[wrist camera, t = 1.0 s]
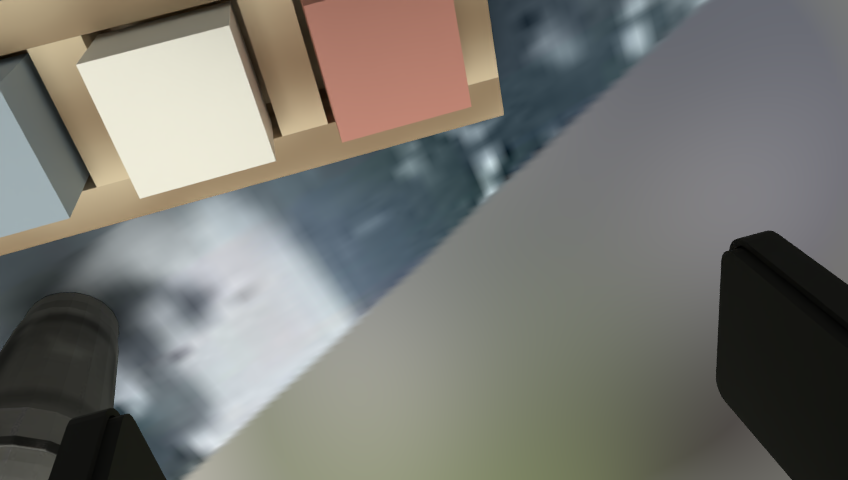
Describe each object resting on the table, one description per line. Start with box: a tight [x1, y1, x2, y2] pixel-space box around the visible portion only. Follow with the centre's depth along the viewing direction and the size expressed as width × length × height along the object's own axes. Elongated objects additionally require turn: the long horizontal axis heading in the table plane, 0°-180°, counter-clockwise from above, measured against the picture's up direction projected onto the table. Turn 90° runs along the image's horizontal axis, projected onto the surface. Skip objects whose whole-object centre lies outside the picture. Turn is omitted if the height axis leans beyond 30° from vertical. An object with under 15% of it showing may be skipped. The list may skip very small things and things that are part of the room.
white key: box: [76, 1, 276, 199], centre depth 26 cm, size 5×5×4 cm
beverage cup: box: [0, 293, 119, 480], centre depth 28 cm, size 7×7×20 cm
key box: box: [0, 0, 504, 256], centre depth 29 cm, size 9×24×6 cm, turn 101°
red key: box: [300, 0, 472, 143], centre depth 26 cm, size 5×5×4 cm
